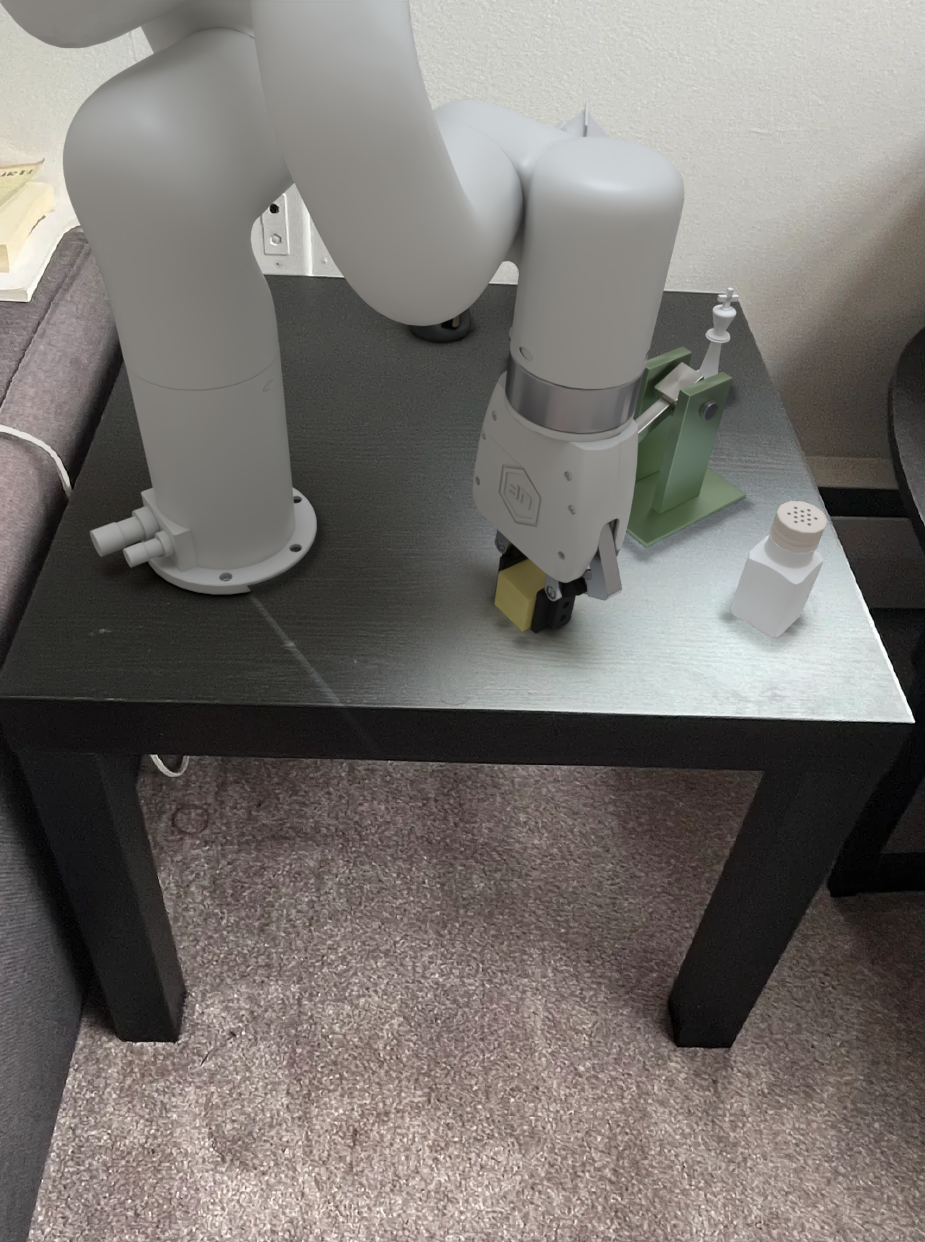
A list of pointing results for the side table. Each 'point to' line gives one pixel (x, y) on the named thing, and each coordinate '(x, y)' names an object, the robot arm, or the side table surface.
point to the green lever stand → (678, 456)
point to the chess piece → (718, 333)
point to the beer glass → (445, 329)
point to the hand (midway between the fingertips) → (532, 607)
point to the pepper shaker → (781, 570)
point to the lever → (666, 398)
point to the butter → (519, 592)
